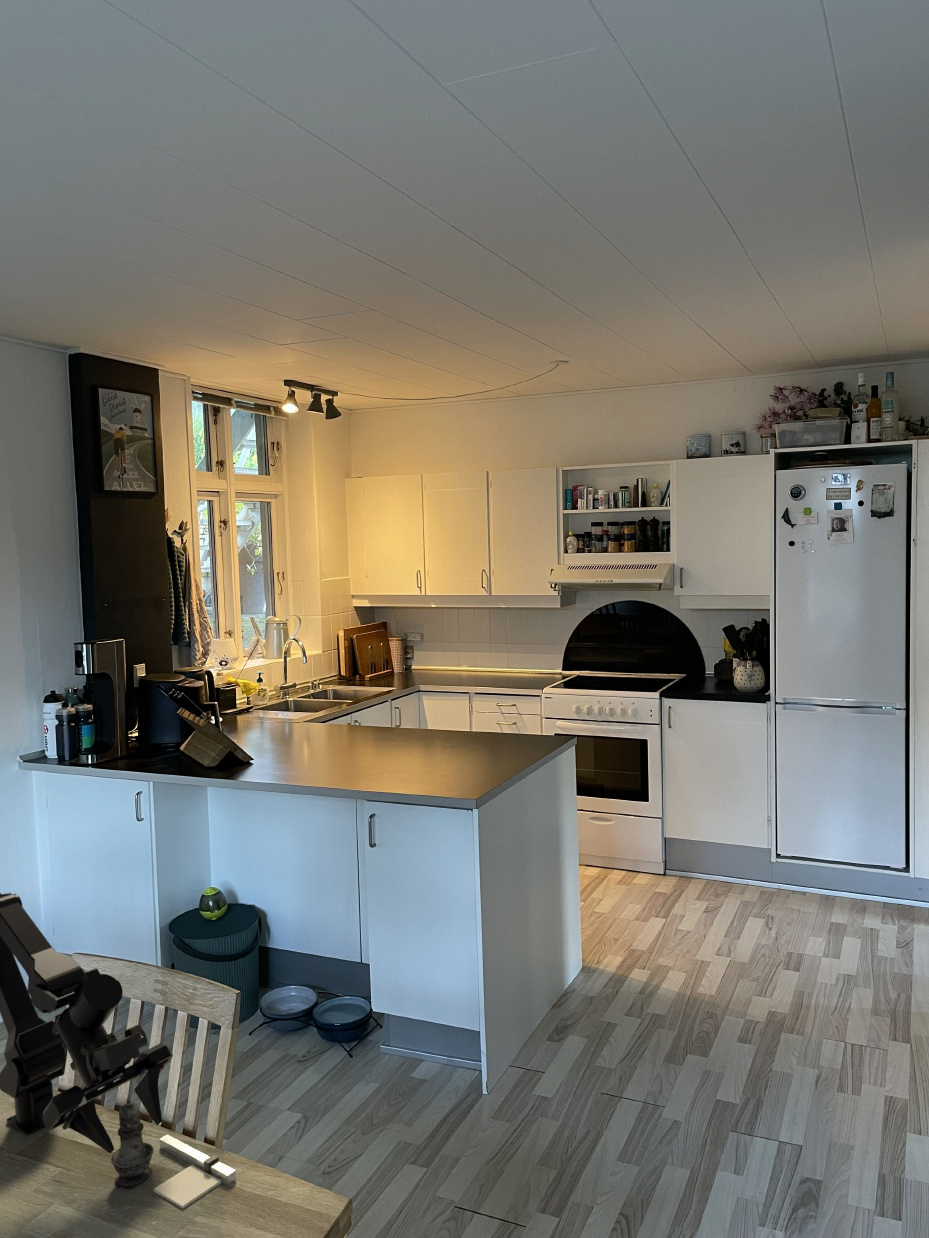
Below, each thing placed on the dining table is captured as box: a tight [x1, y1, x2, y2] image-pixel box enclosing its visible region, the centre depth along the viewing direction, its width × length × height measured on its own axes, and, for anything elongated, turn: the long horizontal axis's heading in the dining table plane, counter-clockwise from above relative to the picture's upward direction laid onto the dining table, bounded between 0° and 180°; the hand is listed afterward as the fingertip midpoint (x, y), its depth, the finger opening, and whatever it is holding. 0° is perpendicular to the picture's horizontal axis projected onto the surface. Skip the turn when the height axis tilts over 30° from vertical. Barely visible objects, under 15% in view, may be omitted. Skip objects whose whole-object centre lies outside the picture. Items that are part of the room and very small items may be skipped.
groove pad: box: [153, 1164, 222, 1209], centre depth 139 cm, size 7×7×1 cm
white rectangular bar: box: [159, 1134, 237, 1186], centre depth 145 cm, size 16×2×2 cm, turn 53°
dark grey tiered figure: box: [110, 1097, 154, 1191], centre depth 142 cm, size 6×6×12 cm
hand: (136, 1137), depth 141 cm, fingers open, 8 cm apart
